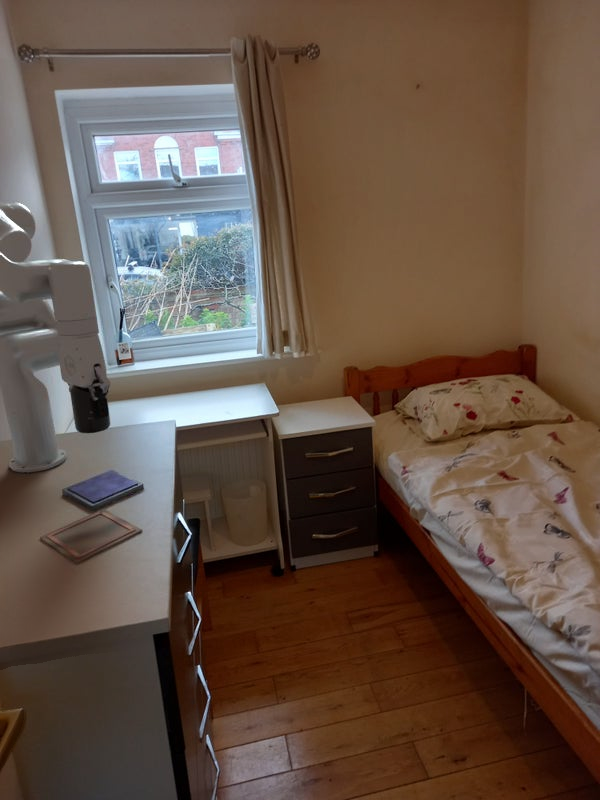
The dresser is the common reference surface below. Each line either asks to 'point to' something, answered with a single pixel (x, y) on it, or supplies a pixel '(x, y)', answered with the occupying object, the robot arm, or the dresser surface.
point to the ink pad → (102, 490)
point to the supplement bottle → (86, 411)
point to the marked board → (90, 535)
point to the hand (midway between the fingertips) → (91, 413)
